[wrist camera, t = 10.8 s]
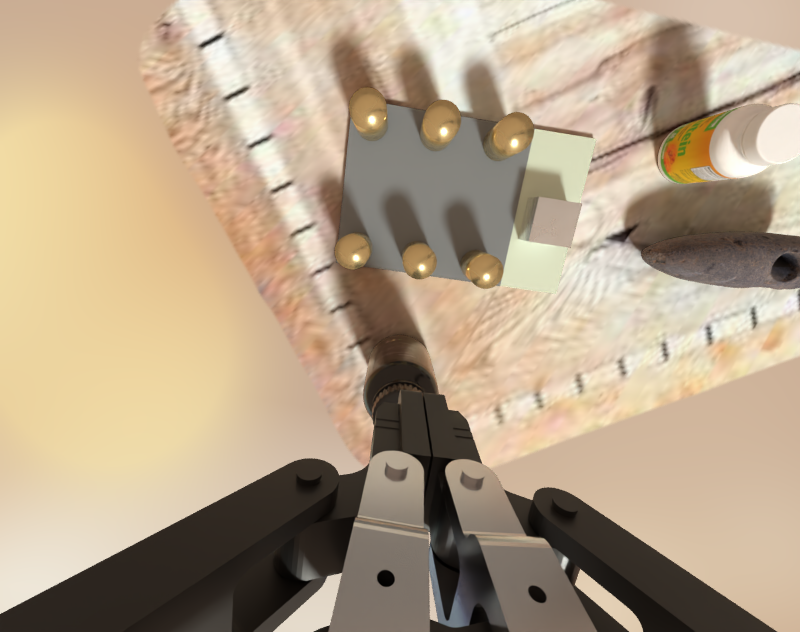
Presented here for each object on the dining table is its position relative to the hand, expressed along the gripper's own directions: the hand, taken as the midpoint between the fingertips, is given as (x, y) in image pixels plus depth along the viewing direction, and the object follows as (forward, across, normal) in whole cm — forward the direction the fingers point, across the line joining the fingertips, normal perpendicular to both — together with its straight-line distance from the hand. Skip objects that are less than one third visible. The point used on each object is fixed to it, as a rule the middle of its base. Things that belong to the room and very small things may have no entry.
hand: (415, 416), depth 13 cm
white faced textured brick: (+26, -13, -8) cm, 30 cm away
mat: (+27, -4, -8) cm, 29 cm away
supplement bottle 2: (+27, -25, -16) cm, 40 cm away
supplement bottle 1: (+27, -1, +9) cm, 29 cm away
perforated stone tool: (+27, -30, -7) cm, 41 cm away
